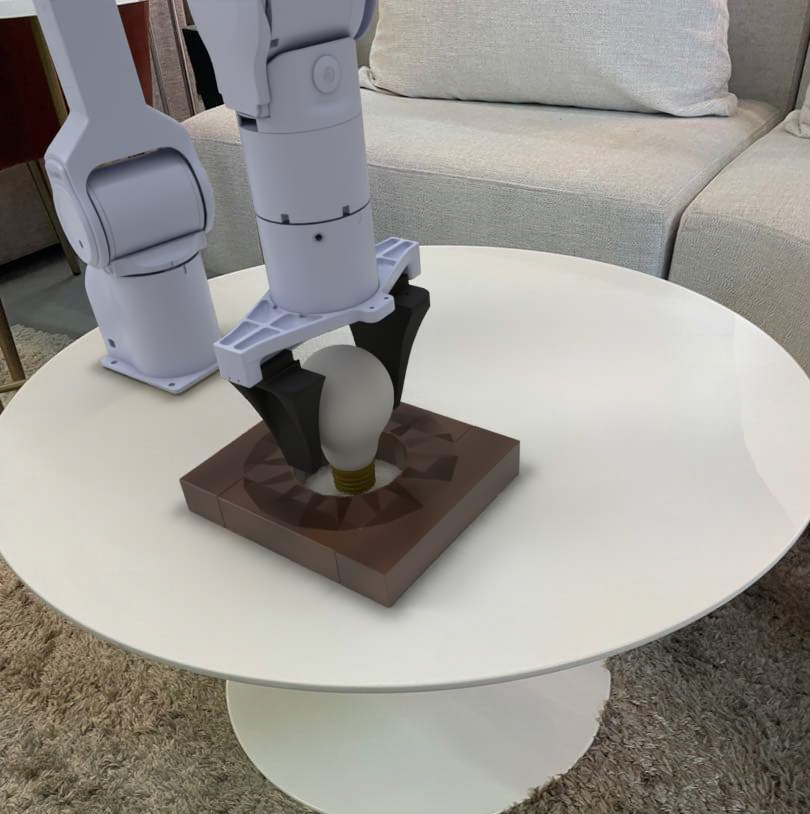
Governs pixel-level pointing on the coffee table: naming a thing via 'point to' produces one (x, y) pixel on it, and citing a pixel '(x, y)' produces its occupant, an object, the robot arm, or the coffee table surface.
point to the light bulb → (351, 412)
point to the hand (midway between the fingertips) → (346, 433)
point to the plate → (360, 500)
